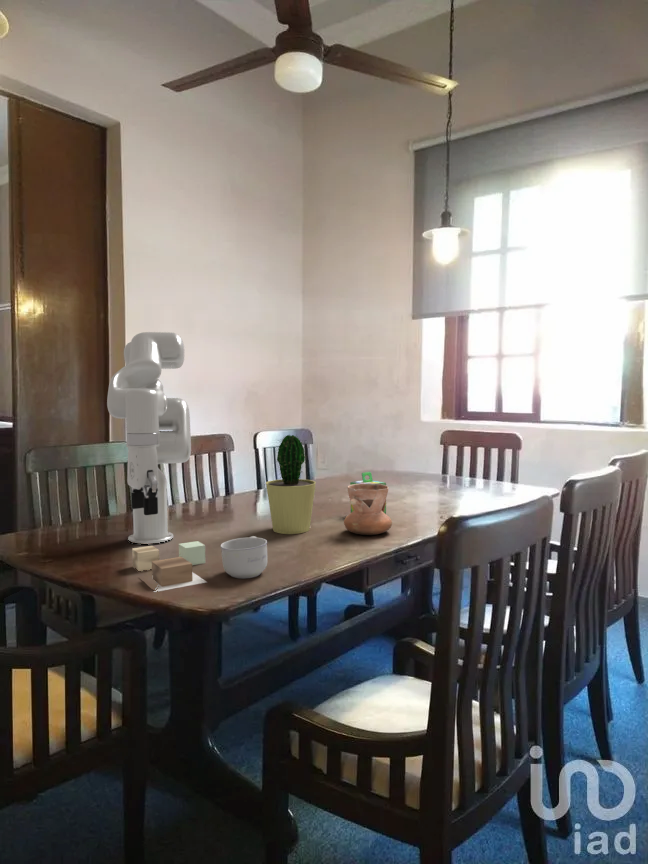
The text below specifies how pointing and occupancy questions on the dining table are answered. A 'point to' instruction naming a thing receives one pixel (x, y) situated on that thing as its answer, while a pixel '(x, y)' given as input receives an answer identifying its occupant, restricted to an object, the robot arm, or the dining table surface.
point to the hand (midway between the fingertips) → (144, 511)
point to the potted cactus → (291, 490)
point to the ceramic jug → (368, 509)
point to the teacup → (244, 556)
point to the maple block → (144, 557)
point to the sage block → (192, 552)
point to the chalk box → (367, 482)
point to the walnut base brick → (171, 571)
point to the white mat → (195, 579)
